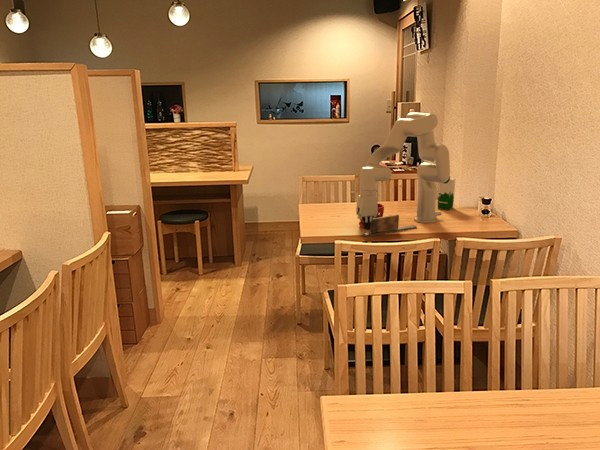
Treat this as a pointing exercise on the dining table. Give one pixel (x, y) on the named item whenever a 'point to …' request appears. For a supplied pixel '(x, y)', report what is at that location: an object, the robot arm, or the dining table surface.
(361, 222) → the plant pot
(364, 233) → the screen rail
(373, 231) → the walnut screen
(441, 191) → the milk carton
